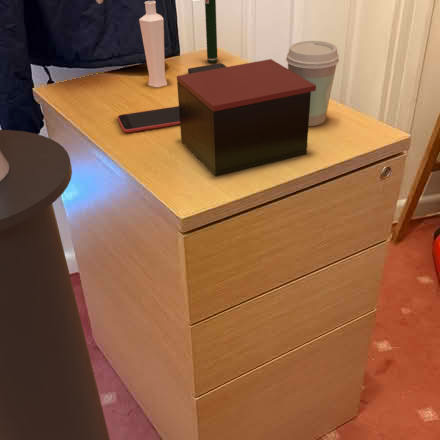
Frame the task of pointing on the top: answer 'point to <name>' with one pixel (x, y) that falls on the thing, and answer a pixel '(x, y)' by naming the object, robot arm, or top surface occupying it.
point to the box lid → (244, 84)
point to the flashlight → (211, 30)
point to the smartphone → (149, 119)
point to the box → (244, 131)
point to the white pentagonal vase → (154, 44)
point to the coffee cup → (315, 73)
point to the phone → (206, 68)
